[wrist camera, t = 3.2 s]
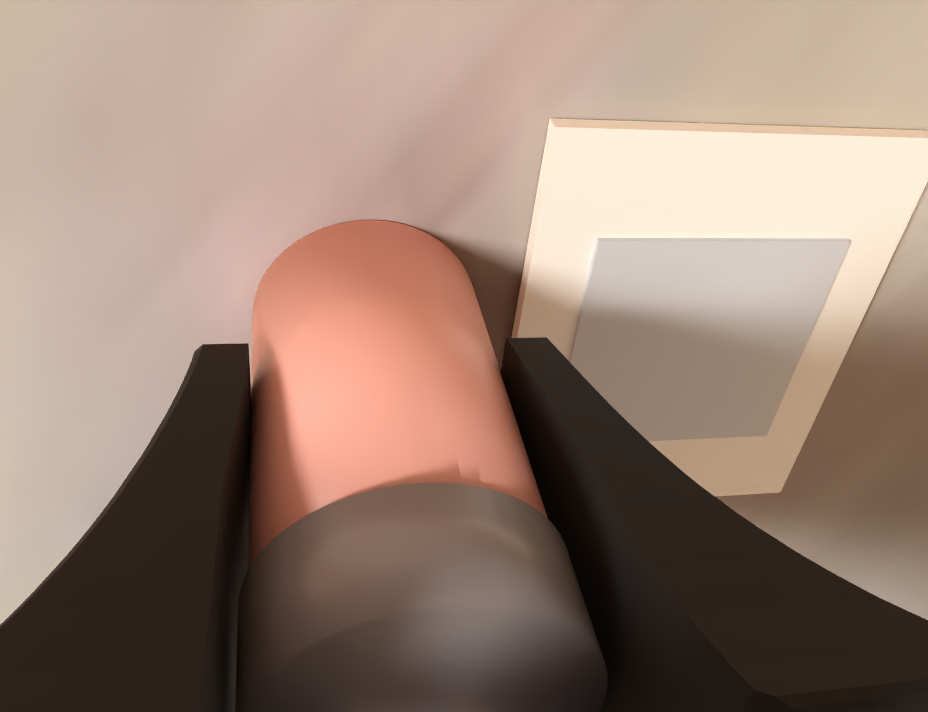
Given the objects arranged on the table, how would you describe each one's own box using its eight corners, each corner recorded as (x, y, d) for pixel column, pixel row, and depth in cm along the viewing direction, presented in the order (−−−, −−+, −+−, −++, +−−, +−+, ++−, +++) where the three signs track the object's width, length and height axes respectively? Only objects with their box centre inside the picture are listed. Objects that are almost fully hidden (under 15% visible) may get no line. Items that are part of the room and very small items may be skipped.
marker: (467, 401, 16) (571, 788, 10) (251, 408, 15) (243, 830, 10) (495, 214, 14) (645, 589, 8) (240, 212, 13) (222, 624, 7)
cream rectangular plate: (773, 482, 19) (782, 495, 19) (483, 499, 18) (486, 514, 17) (936, 130, 14) (951, 141, 14) (550, 118, 13) (557, 130, 12)
